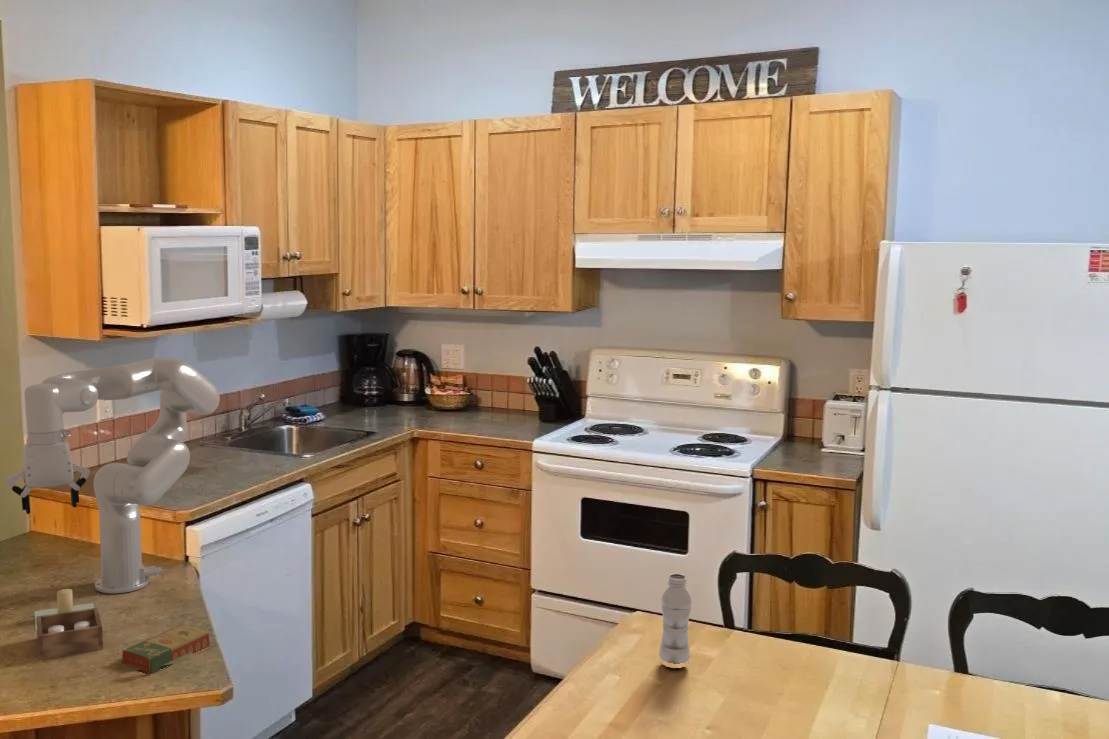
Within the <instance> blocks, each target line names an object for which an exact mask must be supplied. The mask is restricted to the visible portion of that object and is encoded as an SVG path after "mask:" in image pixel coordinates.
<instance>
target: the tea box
mask: <svg viewBox="0 0 1109 739" xmlns="http://www.w3.org/2000/svg"><path fill="white" fill-rule="evenodd" d="M36 618H37V631H36V637H37V648H38V658H39V659H38V660H45V659H52V658H58V657H64V656H70V655H71V656H72V655H76V654H83V653H88V652H94V651H99V650H103V649H104V641H103V638H104V637H103V625H102V624H103V623H102V620H101V616H100V614H99V609H98V607H94V608H91V609H84V610H77V611H70V612H64V613H57V614H50V615H43V616H36ZM82 621H88V622H90V627H87V628H81V629H74V624H75V623H78V622H82ZM55 625H62V626H64V631H61V632H55V633H48V628H49V627H52V626H55Z"/></svg>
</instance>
